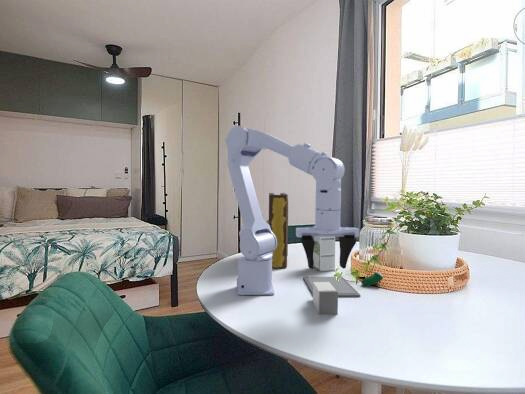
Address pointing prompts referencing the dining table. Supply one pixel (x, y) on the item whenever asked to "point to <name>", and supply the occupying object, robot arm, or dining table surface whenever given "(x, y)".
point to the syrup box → (324, 253)
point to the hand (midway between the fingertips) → (326, 267)
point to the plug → (325, 298)
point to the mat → (334, 285)
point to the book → (279, 228)
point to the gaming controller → (372, 279)
